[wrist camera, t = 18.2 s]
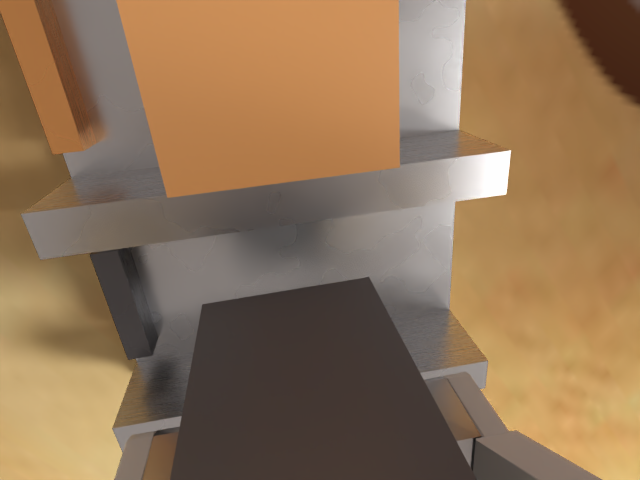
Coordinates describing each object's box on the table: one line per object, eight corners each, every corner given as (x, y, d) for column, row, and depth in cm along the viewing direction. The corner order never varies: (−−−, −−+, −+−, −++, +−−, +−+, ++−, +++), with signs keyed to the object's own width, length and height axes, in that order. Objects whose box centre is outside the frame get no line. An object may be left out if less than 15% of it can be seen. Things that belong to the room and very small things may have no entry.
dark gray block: (369, 276, 10) (506, 533, 5) (375, 398, 12) (481, 691, 6) (202, 304, 10) (144, 618, 4) (233, 426, 11) (220, 763, 6)
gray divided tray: (457, -156, 11) (554, -253, 8) (437, 327, 18) (484, 396, 14) (-19, -131, 10) (-170, -231, 6) (153, 375, 17) (127, 464, 13)
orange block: (326, -39, 11) (397, -122, 6) (337, 116, 13) (399, 167, 7) (171, -27, 11) (89, -103, 5) (204, 132, 12) (167, 197, 7)
